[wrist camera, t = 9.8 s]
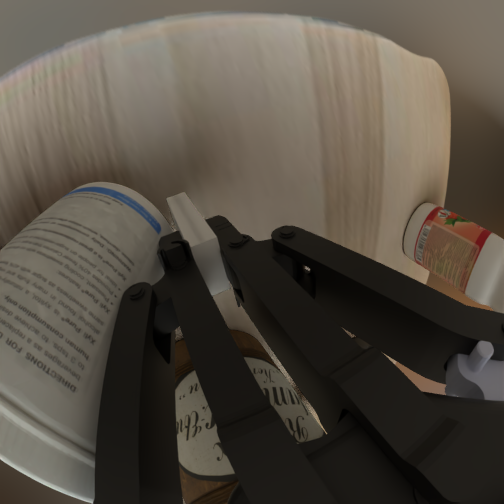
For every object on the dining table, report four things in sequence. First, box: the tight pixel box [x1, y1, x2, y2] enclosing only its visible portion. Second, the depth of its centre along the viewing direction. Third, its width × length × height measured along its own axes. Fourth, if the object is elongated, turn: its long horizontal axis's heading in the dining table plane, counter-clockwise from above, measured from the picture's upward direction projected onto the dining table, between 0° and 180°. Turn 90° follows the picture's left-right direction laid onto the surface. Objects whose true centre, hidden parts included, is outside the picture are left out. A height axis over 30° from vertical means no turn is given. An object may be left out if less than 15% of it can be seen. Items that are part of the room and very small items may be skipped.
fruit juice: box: [403, 203, 504, 313], centre depth 25 cm, size 9×9×28 cm
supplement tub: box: [0, 182, 173, 503], centre depth 10 cm, size 10×10×15 cm
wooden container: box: [175, 330, 326, 504], centre depth 20 cm, size 15×15×22 cm
